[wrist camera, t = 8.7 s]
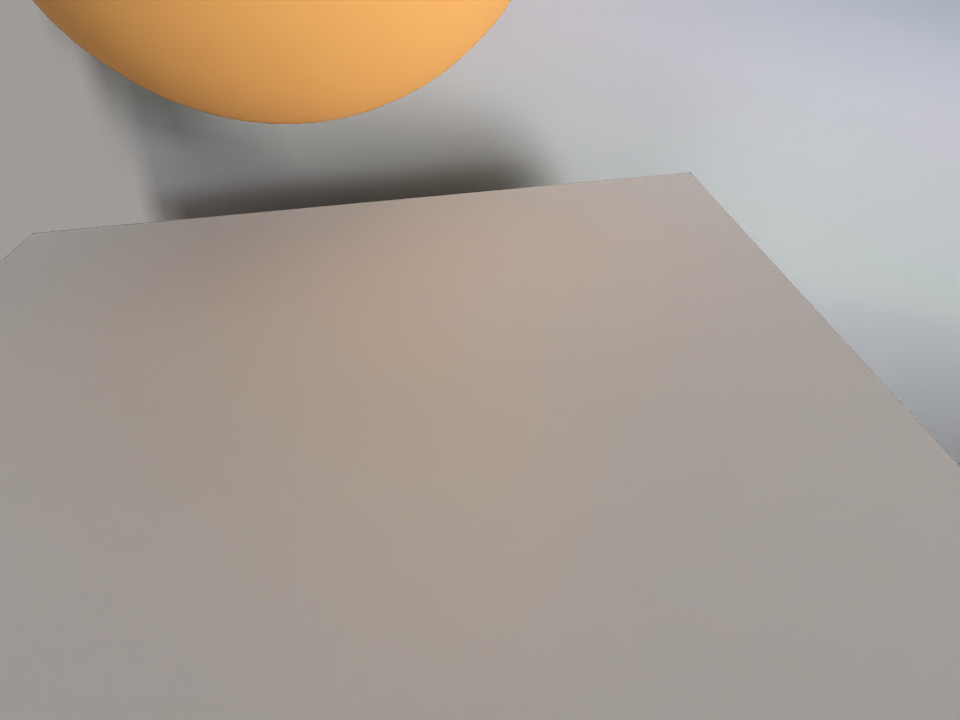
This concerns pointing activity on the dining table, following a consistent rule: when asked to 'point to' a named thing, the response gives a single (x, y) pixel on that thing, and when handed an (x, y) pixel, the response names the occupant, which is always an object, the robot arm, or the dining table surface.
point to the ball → (277, 50)
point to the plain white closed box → (458, 473)
